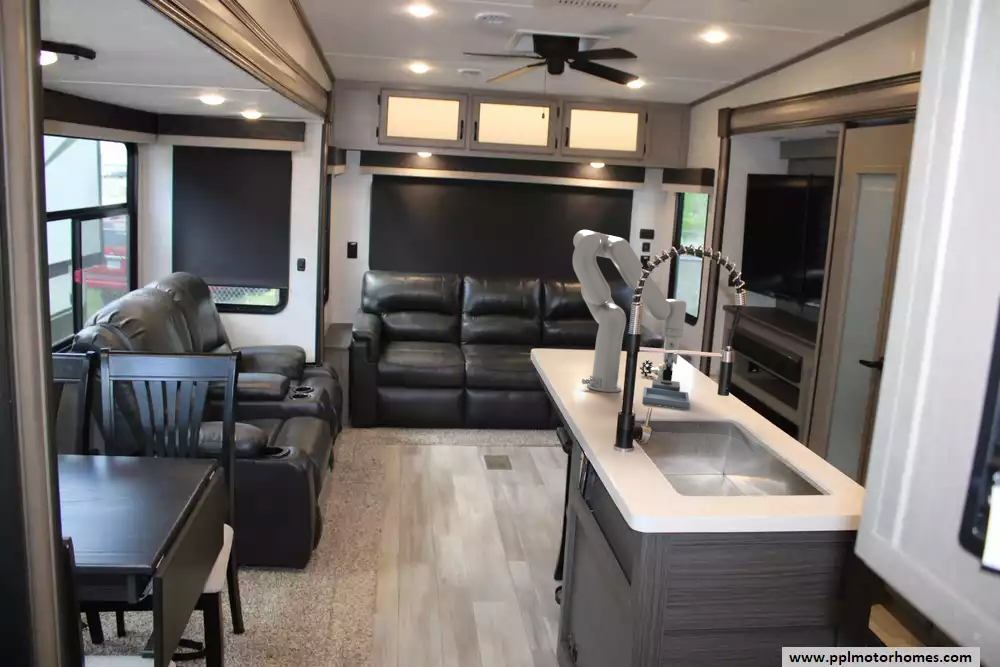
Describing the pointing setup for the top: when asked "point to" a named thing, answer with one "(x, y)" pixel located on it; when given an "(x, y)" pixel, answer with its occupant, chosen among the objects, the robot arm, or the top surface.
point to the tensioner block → (666, 385)
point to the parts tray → (665, 398)
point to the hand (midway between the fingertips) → (666, 377)
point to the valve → (652, 369)
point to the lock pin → (664, 380)
